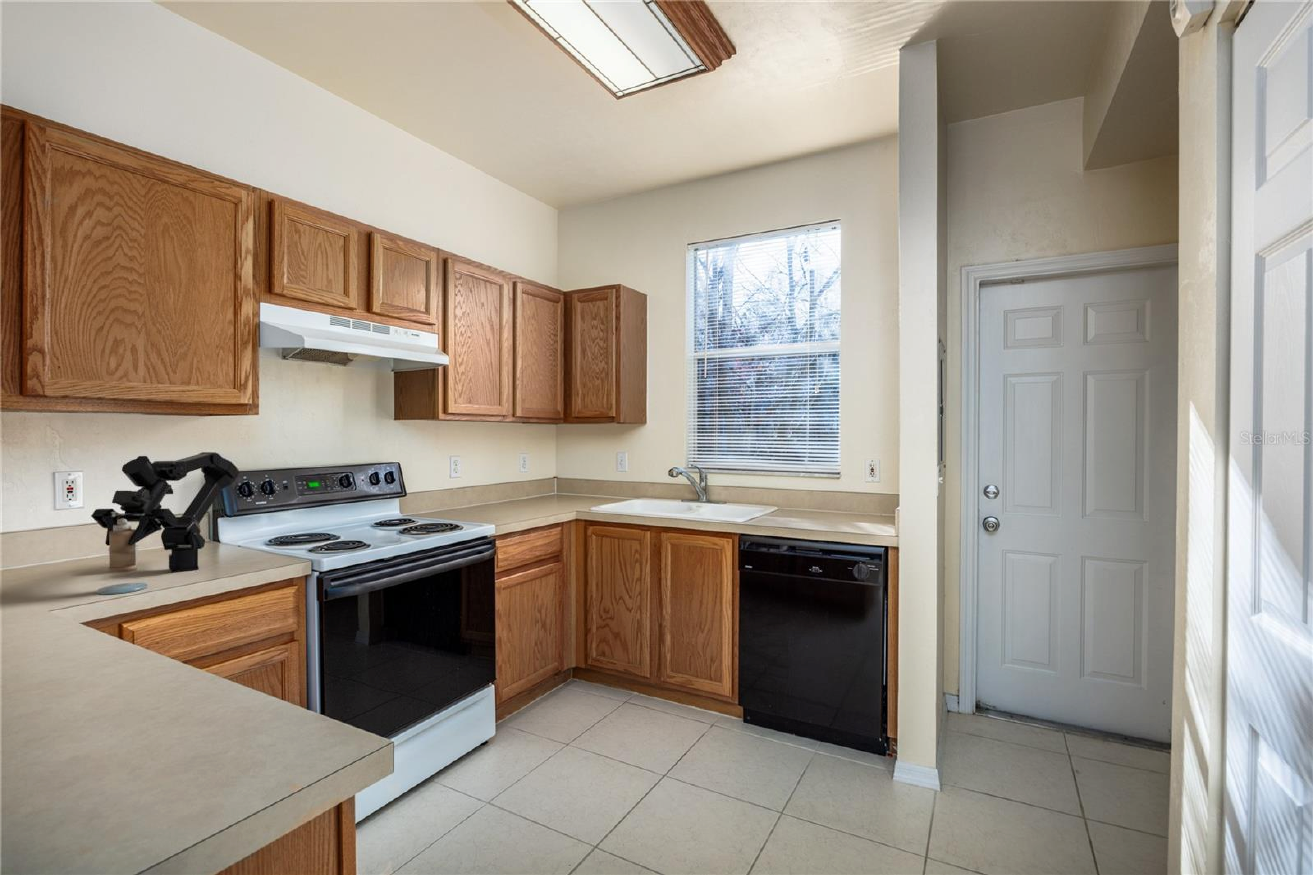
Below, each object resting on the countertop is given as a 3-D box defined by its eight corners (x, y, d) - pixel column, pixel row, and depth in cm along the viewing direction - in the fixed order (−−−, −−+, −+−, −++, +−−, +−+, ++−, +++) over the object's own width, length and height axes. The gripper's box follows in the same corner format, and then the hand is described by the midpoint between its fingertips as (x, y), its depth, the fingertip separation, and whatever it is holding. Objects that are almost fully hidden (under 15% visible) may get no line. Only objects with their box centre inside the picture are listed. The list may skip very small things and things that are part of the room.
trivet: (146, 583, 170) (146, 580, 170) (147, 590, 162) (147, 588, 162) (97, 588, 163) (97, 586, 163) (96, 596, 156) (96, 594, 156)
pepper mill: (129, 567, 166) (129, 516, 166) (141, 569, 164) (140, 517, 164) (104, 571, 161) (103, 519, 161) (115, 573, 159) (115, 520, 159)
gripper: (96, 478, 165) (60, 526, 155) (169, 478, 167) (139, 526, 156) (120, 504, 173) (87, 551, 163) (190, 504, 175) (162, 550, 164)
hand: (118, 544), depth 161 cm, fingers closed on pepper mill, 5 cm apart
